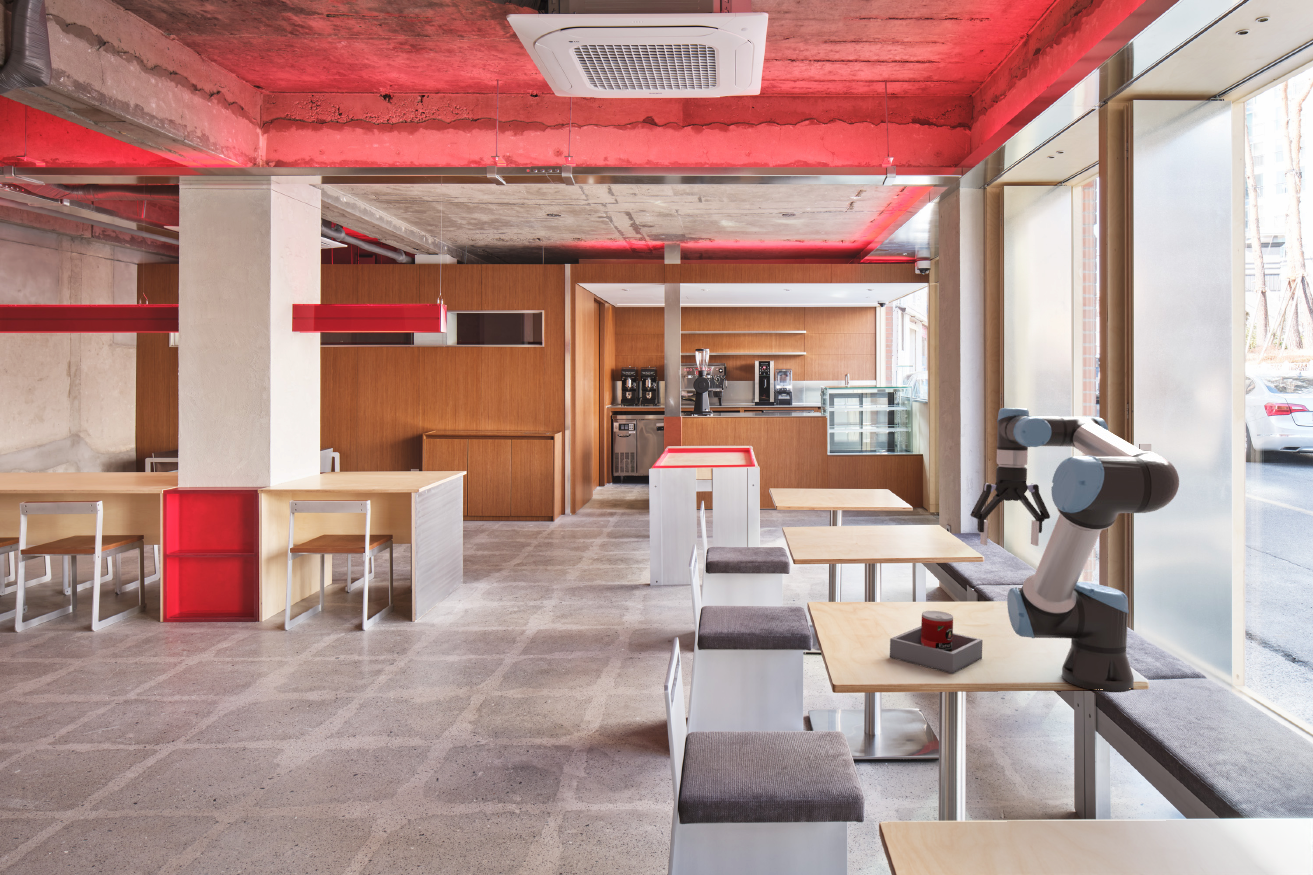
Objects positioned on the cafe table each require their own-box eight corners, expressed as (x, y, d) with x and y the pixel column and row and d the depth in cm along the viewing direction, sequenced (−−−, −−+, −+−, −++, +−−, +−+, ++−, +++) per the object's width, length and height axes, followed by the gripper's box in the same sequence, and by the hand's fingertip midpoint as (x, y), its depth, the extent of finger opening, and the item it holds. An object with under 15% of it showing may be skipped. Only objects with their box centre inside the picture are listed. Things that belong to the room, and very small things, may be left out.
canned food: (939, 662, 205) (940, 620, 204) (914, 654, 211) (915, 613, 211) (958, 657, 209) (959, 616, 208) (933, 649, 216) (934, 608, 215)
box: (981, 658, 210) (982, 639, 210) (952, 673, 198) (953, 653, 198) (921, 643, 222) (921, 625, 222) (889, 657, 210) (890, 638, 210)
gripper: (1051, 464, 218) (1049, 542, 219) (959, 464, 218) (957, 541, 219) (1065, 467, 211) (1062, 547, 212) (970, 466, 211) (967, 546, 212)
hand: (1009, 544), depth 216 cm, fingers open, 13 cm apart
